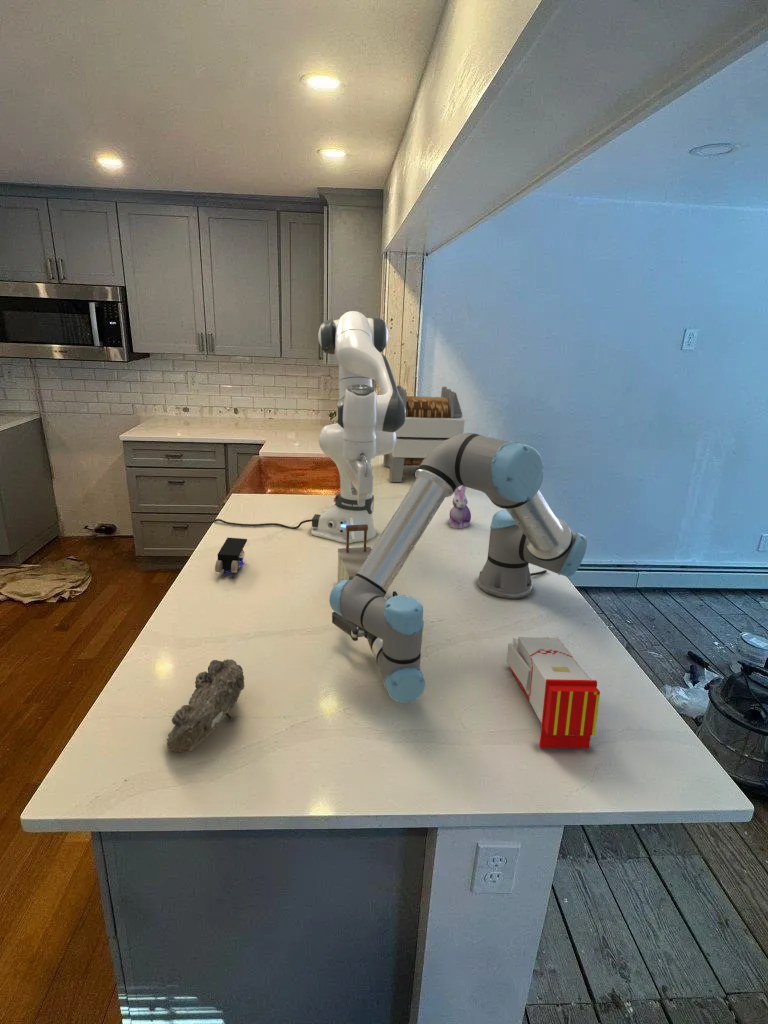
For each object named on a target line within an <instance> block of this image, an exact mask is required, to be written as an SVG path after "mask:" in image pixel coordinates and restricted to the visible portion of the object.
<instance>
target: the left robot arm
mask: <svg viewBox="0 0 768 1024" xmlns="http://www.w3.org/2000/svg"><path fill="white" fill-rule="evenodd" d="M389 337H390V336H389V329H388V327H387V324H386V322H385V320H384V319H381V318H378V317H372V318H371V317H366V315H364V314H363V313H362V312H360V311H357V310H350V311H347V312H345V313H343V314H342V315H340V317H339V318H338V319H334V320H333V319H328V320H324V321H323V322H322V323H321V324H320V327H319V330H318V334H317V339H318V344H319V345H320V348H321V350H322V351H323V353H325V354H328V355H336V359H337V362H338V393H339V394H338V395H339V396H338V397H339V400H337V402H336V407H337V418H336V423H331V424H327V425H324V427H322V429H321V430H320V432H319V435H318V444H319V447H320V450H321V451H322V452H323V454H325V455H326V456H327V457H329V458H330V459H331V460H332V462H333V463H334V464H335V466H336V467H337V470H338V474H339V483H340V484H339V485H340V488H339V489H340V490H339V491H338V492H337V494H336V495H335V496H334V497H333V502H334V504H333V505H331V506H329V507H328V508H326V509H325V510H323V512H321V514H318V513H315V514H314V515H313V517H312V518H311V519H305V520H302V521H301V522H299V523H298V525H296V526H288V525H285V524H282V523H276V522H265V523H239V522H238V523H237V522H230V521H226V520H224V519H220V518H215V519H214V520H212V521H211V523H215V522H221V523H224V524H226V525H231V526H240V527H263V526H279V527H281V528H282V527H283V528H285V529H286V528H287V529H291V530H297V529H299V528H300V527H301V525H303V524H305V523H311V527H312V528H311V530H310V533H311V536H315V537H319V538H323V539H326V540H330V541H336V542H339V543H343V544H346V525H363V524H367V525H368V530H367V541H368V540H372V539H373V538H375V537H376V535H377V532H376V528H375V523H374V513H373V512H374V509H375V496H374V473H373V465H372V460H373V459H375V458H376V457H380V456H384V455H385V454H389V453H391V452H392V451H393V449H394V448H395V446H396V441H397V437H396V433H395V431H397V430H398V429H399V428H401V427H402V426H403V425H404V423H405V417H406V410H405V406H404V402H403V400H402V398H401V396H400V394H399V392H398V389H397V386H398V385H397V382H396V381H395V377H394V375H393V372H392V368H391V366H390V363H389V361H388V359H387V357H386V355H385V354H383V353H382V352H383V351H384V350H385V349H386V347H387V344H388V342H389ZM373 381H375V382H376V383H377V384H378V387H379V390H380V392H381V394H377V392H376V389H375V388H374V387H373ZM357 542H364V531H349V544H352V543H357Z"/></svg>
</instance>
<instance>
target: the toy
mask: <svg viewBox="0 0 768 1024" xmlns="http://www.w3.org/2000/svg"><path fill="white" fill-rule="evenodd" d="M505 659H506V660H505V661H506V663H507V664H508V666H509V667H508V669H510V671H511V673H512V674H513V676H514V678H515V680H516V681H517V683H518V685H519V686H520V688H521V689H522V691H523V693H524V694H525V696H526V698H527V700H529V703H530V705H531V707H532V708H533V711H534V712H535V715H536V716H537V718H538V720H539V722H540V725H541V726H540V736H539V744H538V746H539V748H540V749H590V746H591V736H592V737H595V735H596V731H597V730H596V729H597V722H598V721H597V720H598V714H599V713H598V712H599V703H600V697H601V691H600V690H599V688H598V680H596V679H591V678H590V677H589V675H588V674H587V673H586V672H585V670H584V669H583V668H582V667H581V665H580V664H579V663H578V661H577V660H576V659H575V657H574V656H573V655H572V653H570V650H569V649H568V648H567V647H566V645H564V643H563V642H562V641H561V639H560V638H559V637H548V636H547V637H546V636H545V637H543V636H518V638H517V637H515V638H512V643H511V642H508V646H507V653H506V658H505Z"/></svg>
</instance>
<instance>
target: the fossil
mask: <svg viewBox="0 0 768 1024" xmlns="http://www.w3.org/2000/svg"><path fill="white" fill-rule="evenodd" d="M243 670H244V669H243V667H242V665H240V664H237V662H236V661H235V660H234V659H232V658H231V659H227V658H226V659H224V660H223V661H222V660H217V659H212V660H211V661H210V663H209V665H208V666H207V671H201V672H199V673H198V674H197V675H196V676H195V680H194V684H195V685H194V687H195V689H194V690H193V693H192V694H191V697H190V698H189V700H188V704H184V705H182V706H181V707H180V709H177V710H176V711H175V713H174V715H173V716H172V718H171V723H172V724H173V727H172V730H171V731H170V732H168V734H167V738H166V741H167V742H166V745H167V749H168V750H169V751H173V752H174V753H176V754H178V753H182V752H188V751H189V752H192V751H193V750H195V748H196V747H197V746H199V744H200V743H201V742H203V741H204V740H205V739H206V738H207V737H208V736H209V735H210V734H211V733H212V732H214V730H215V729H217V727H218V726H219V724H220V722H221V721H222V720H223V719H224V718H225V716H226V717H227V719H229V720H233V717H232V715H230V714H229V710H230V709H231V708H234V706H235V704H236V703H237V702H238V699H239V697H240V695H241V693H242V691H243V690H245V689H244V688H245V675H244V671H243Z"/></svg>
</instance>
